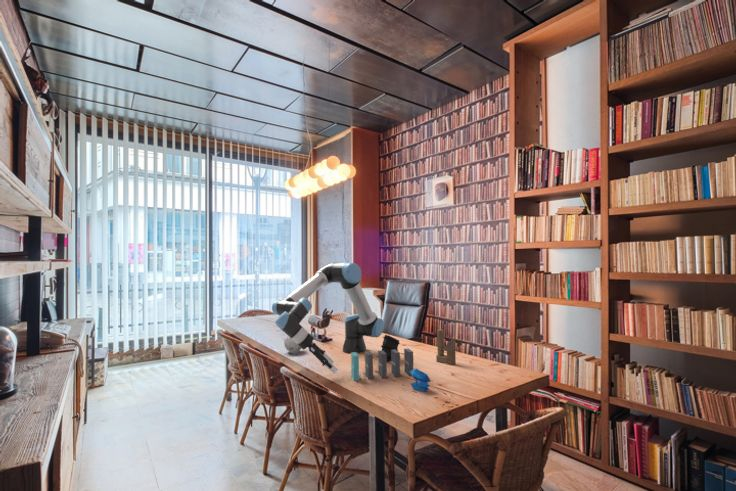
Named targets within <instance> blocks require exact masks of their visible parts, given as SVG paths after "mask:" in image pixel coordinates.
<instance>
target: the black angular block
mask: <svg viewBox="0 0 736 491" xmlns="http://www.w3.org/2000/svg"><path fill="white" fill-rule="evenodd" d="M382 338H383V339H382V340H383V341H382V344H381V345H380V347H381V350H383V351H384V352H385V353H386V354H387V363H389V362H391V350H394V349H396V350H397V351H398V352H399V348H398V347H399V345H400V343H401V342H400V340H399V339H396V338H395V337H392V336H390V335H388V334H385V335H384V336H383V337H382Z"/></svg>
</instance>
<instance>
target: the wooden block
mask: <svg viewBox="0 0 736 491" xmlns="http://www.w3.org/2000/svg"><path fill="white" fill-rule="evenodd" d="M436 330H437V331H436V332H437V333H436V334H437V338H436V339H437V354H436V356H435V357H436V362H438V363H440V364H441V363H442V364H446V365H449V366H454V365H457V362H456V360H457V359H456V356H457V355H456V338H453V339H452V338H451V339H450V340H449V341H448V343H447V344H446V345H445V336H444V333H445V332H444V329H436ZM445 352H446V355H445Z"/></svg>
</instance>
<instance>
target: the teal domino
mask: <svg viewBox="0 0 736 491" xmlns="http://www.w3.org/2000/svg"><path fill="white" fill-rule="evenodd" d="M350 354H351V355H350V358H351V359H350V360H351V362H350V363H351V364H350V366H351V372H350V374H351V378H352V380H353V381H354V382H356V381H357V382H358V381H360V356H359V353H356V352H351V353H350Z"/></svg>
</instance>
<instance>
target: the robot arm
mask: <svg viewBox="0 0 736 491" xmlns="http://www.w3.org/2000/svg"><path fill="white" fill-rule="evenodd" d="M361 280H362V269H361V267H360V266H359V265H358V264H357V263H355V262H349V261H348V262H332V263H329V264H327V265H324V266H323V267H321V268H319V269H318V270H317V271H316V272H315V273H314V275H313V276H312V277H310V278H309V279H308V280H306V281H305V282H303V284H301V285H300V286H299V287H298V288H296V289H295V290H294V291H292V292H291V293H290V294H288V295H287V296H285V297H284V298H282V300H280V299H279V300H276V301H273V303H272V306H271V311H272V313H273V314H274V315H277V316H278V317H277V318H276V320H275V325H276V326H277V328H279V329H280V330H281V331H282V332H284V334H286V336H288V338H291V339H292V342H293V341H295V343H297V344H298V345H299V346H300V347H301V349H302V350H305V349H307V348H308V351H309V352H310V353H311V354H312V355H313V356H315V357H316V359H318V361H319V362H320V363H321V364H322V366H323V367H326V368H327V369H328V370H329V371H330V372H332V373H333V374H334V375H335V374H336V373H337V372H338V371H339V369H338V367H336V365H334V363H335V361H334V360H333V359H332V358H331V357H330V355H328V354H327V353H326V350H324V349H322V348H321V347H319V346H318V345H317V344H316V342H314V339H315V338H314V336H313V335H312V334H311V333H309V332H308V330H306V328H304V327H303V326H302V325H301V322H302V321H303V319H304V318H306V316H307V315H308V314H309V312H310V311H311V310H312V307H313V306H312V305H313V304H312V303H311V301H310V300H309V299H308V298H310V297H311V296H312V295H313V294H314V293H316V292H317V291H318V290H319V289H321V288H322V287H326V286H327V285H329V284H332V283H339V284H340V286H341V287H342V289H343V290H345V291H346V293H347V295H348V297H349V299H350V301H351V303H352V306H353V307H354V309H355V311H356V314H355V313H353V314H349V315H346V316H345V319H344V320H345V321H344V324H345V325H344V329H345V330H344V332H345V335H344V336H345V339H344V342H343V345H342V352H344V353H347V354H351V352H356V353H357V354H360V353H365V352H366V351H367V346H366V341H365V338H364V337H369V338H379V337H381V335H382V334H383V332H384V328H385V323H384V322H385V321H384V320H383V318H381V317H380V318H379V317H378V315H377V314H376V312H374V311H373V310H372V308H371V306H370V304H369V301H368V299H367V297H366V295H365V293H364V291H363V289H362V286H361V284H360V283H361Z"/></svg>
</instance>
